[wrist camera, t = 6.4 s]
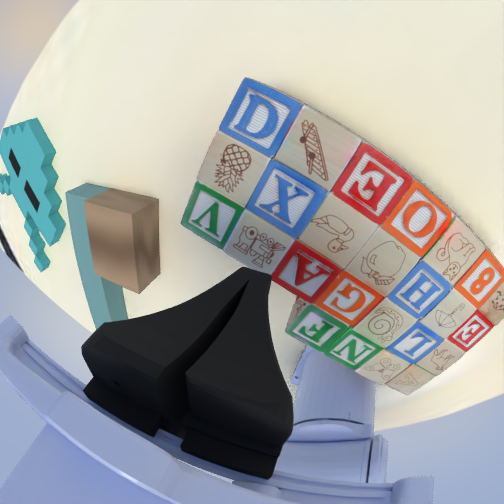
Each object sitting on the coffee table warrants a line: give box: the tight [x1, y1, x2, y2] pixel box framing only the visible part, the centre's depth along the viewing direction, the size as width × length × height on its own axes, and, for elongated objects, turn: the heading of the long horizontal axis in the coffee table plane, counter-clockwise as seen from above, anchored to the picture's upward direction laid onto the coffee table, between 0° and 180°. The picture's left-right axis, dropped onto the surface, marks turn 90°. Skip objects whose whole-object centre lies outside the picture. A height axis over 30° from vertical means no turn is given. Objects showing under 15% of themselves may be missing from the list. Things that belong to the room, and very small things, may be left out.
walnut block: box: [84, 188, 160, 294], centre depth 24 cm, size 8×6×4 cm
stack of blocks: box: [181, 77, 504, 395], centre depth 16 cm, size 21×6×12 cm
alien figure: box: [0, 118, 66, 272], centre depth 28 cm, size 20×2×20 cm
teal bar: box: [66, 183, 128, 330], centre depth 28 cm, size 22×4×3 cm, turn 171°
